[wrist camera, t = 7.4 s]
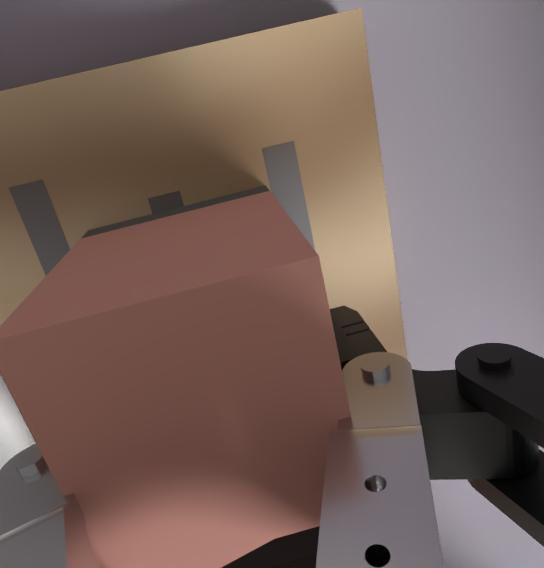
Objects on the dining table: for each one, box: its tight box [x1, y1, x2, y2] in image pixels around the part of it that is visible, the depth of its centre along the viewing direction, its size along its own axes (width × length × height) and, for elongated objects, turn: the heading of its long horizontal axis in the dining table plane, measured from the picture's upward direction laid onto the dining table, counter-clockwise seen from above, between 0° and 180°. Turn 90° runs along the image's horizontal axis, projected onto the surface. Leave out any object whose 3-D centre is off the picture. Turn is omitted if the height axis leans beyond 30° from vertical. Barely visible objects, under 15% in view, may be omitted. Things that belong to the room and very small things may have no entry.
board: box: [0, 8, 408, 360], centre depth 14 cm, size 16×11×2 cm
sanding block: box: [0, 185, 351, 568], centre depth 11 cm, size 8×4×6 cm, turn 13°
